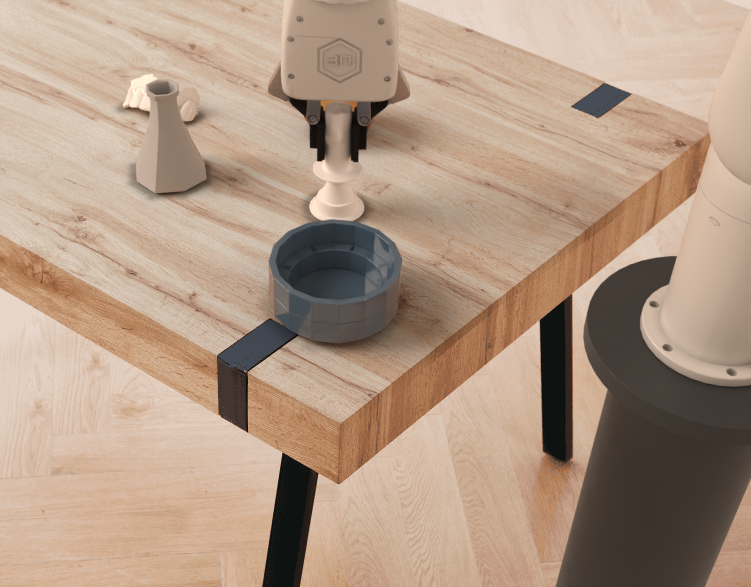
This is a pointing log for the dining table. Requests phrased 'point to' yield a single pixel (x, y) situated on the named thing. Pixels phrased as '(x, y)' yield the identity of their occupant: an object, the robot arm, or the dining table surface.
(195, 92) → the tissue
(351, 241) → the bowl
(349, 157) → the candle
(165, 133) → the flask
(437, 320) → the dining table surface
